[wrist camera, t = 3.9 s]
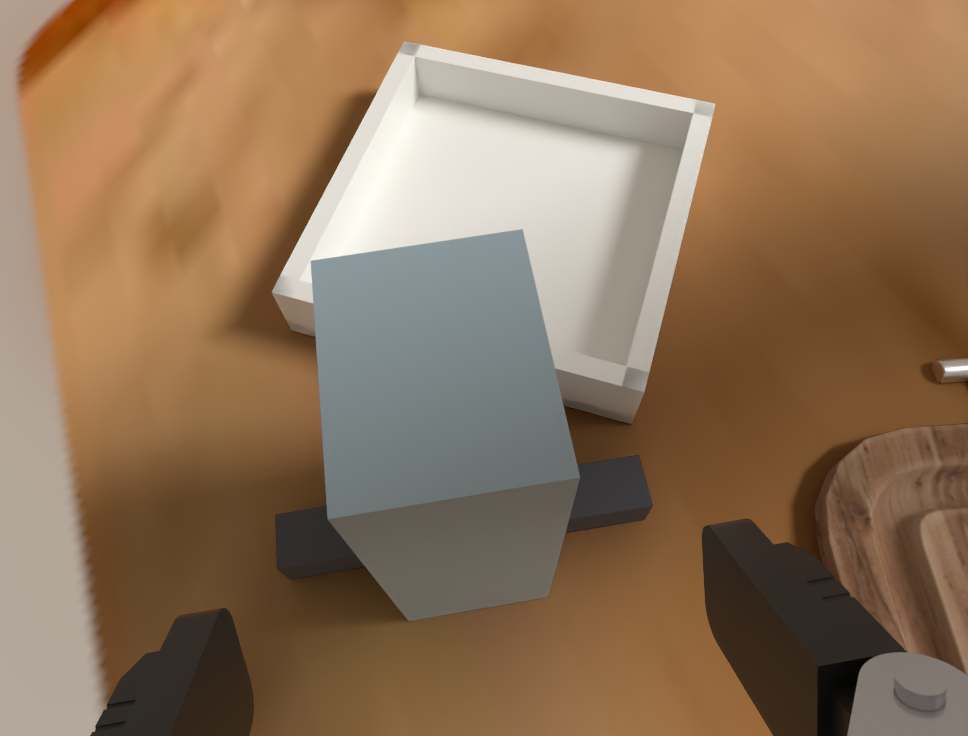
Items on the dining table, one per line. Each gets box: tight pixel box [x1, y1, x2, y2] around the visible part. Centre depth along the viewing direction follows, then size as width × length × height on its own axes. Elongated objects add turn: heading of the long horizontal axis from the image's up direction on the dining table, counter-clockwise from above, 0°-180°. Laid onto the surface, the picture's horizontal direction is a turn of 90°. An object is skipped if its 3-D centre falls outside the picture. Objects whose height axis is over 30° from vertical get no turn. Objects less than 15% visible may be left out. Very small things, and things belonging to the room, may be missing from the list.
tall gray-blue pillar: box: [311, 229, 580, 621], centre depth 18 cm, size 4×5×11 cm
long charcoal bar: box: [275, 455, 653, 579], centre depth 22 cm, size 11×2×2 cm, turn 99°
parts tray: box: [271, 41, 715, 424], centre depth 27 cm, size 12×12×2 cm
